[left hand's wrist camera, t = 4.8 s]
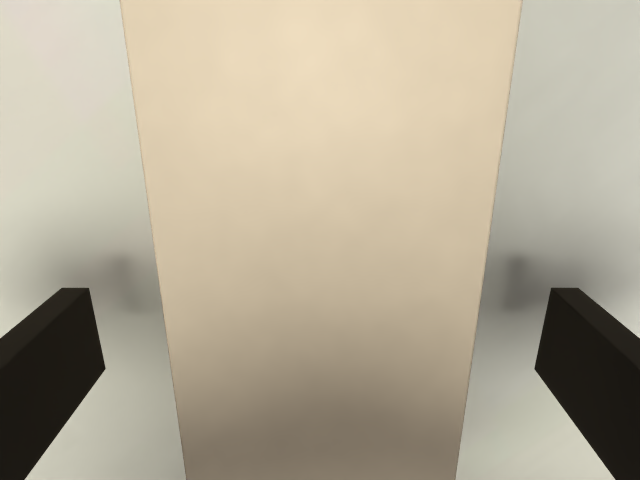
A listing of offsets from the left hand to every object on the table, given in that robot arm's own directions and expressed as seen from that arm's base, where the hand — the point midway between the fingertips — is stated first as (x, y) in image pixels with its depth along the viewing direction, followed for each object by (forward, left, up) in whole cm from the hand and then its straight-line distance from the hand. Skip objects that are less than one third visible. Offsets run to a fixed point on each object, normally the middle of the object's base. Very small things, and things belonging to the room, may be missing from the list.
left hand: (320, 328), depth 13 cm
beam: (+27, +6, -3) cm, 27 cm away
